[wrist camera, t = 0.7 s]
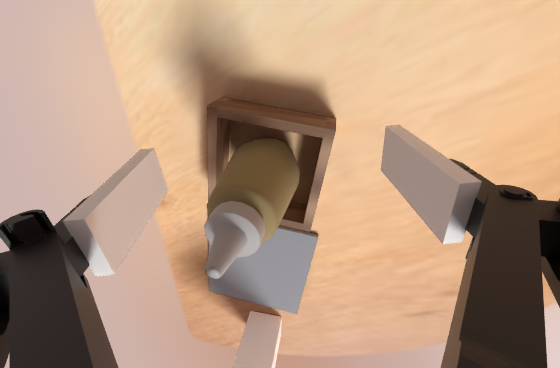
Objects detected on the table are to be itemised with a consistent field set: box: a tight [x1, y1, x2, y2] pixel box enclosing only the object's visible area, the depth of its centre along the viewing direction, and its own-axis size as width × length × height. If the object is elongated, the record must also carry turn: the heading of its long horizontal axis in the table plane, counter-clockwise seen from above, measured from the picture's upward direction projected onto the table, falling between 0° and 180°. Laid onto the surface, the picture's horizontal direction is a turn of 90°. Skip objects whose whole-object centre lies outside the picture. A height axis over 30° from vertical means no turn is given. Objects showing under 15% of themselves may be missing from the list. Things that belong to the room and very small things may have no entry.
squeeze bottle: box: [204, 138, 300, 279], centre depth 25 cm, size 8×8×18 cm
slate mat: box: [209, 226, 318, 314], centre depth 43 cm, size 18×16×1 cm
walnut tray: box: [207, 97, 336, 232], centre depth 31 cm, size 13×13×4 cm
